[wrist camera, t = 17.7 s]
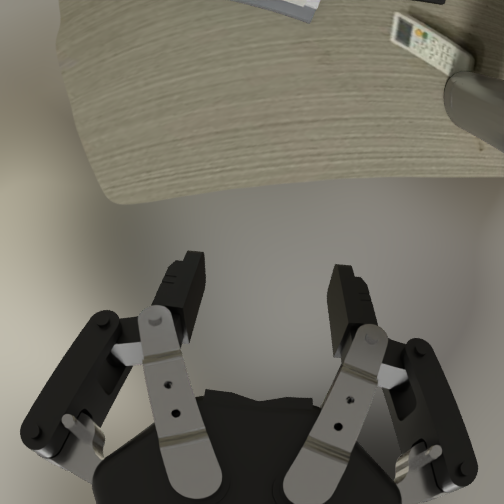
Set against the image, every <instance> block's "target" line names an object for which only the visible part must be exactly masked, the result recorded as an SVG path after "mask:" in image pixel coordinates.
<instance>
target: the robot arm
mask: <svg viewBox="0 0 504 504" xmlns="http://www.w3.org/2000/svg"><path fill="white" fill-rule="evenodd" d="M444 104H445V108H446V111H447V114H448V116H449V117H450V119H451V120H452V122H453V123H454V124H455V125H457V126H458V127H460V128H462V129H463V130H465V131H467V132H469V133H471V134H473V135H474V136H476V137H478V138H480V139H481V140H483V141H485V142H486V143H488V144H490V145H491V146H493V147H495V148H496V149H498V150H500V151H501V152H503V153H504V80H502V79H498V78H494V77H490V76H486V75H482V74H478V73H473V72H468V71H460V72H458V73H456V74H454V75H453V76H452V77H451V78H450V79H449V80H448V82H447V84H446V87H445V91H444ZM205 283H206V274H205V257H204V252H198V251H187V253H186V255H185V257H184V260H183V261H178V260H176V261H175V262H173V264H171V265H170V266H169V267H168V269H167V271H166V273H165V276H164V278H163V280H162V283H161V284H160V287H159V289H158V291H157V293H156V296H155V299H154V300H153V303H152V305H151V306H149V307H147V308H145V309H144V310H142V311H141V313H140V314H139V316H137V317H131V318H121V319H119V317H118V315H117V314H116V313H115V312H113V311H110V310H103V311H100V312H97V313H96V314H94V315H93V316H92V317H91V318H90V320H89V321H88V323H87V324H86V325H85V327H84V328H83V329H82V331H81V332H80V334H79V335H78V337H77V338H76V339H75V341H74V342H73V344H72V345H71V347H70V348H69V350H68V351H67V352H66V354H65V356H64V357H63V359H62V360H61V361H60V363H59V365H58V366H57V368H56V369H55V371H54V372H53V374H52V376H51V377H50V378H49V380H48V381H47V383H46V385H45V386H44V388H43V389H42V391H41V393H40V394H39V396H38V398H37V399H36V401H35V402H34V404H33V406H32V407H31V409H30V411H29V413H28V414H27V416H26V418H25V419H24V421H23V423H22V425H21V429H20V435H21V439H22V441H23V443H24V444H25V445H26V446H27V447H28V448H29V449H31V450H33V451H34V452H36V453H37V454H38V455H39V456H40V457H42V458H44V459H45V460H47V461H49V462H50V463H52V464H54V465H56V466H59V467H61V468H62V469H64V470H67V471H70V472H71V473H73V474H75V475H76V476H78V477H80V478H82V479H83V480H85V481H87V482H88V483H91V484H92V489H93V493H94V497H95V500H96V504H417V503H420V502H427V501H429V500H432V499H435V498H438V497H441V496H443V495H446V494H448V493H451V492H453V491H456V490H458V489H460V488H463V487H465V486H468V485H469V484H471V483H472V482H473V481H474V479H475V478H476V475H477V472H478V464H477V460H476V457H475V454H474V451H473V448H472V444H471V441H470V439H469V436H468V433H467V430H466V427H465V424H464V422H463V419H462V416H461V414H460V411H459V409H458V406H457V403H456V401H455V399H454V396H453V394H452V391H451V389H450V386H449V384H448V382H447V379H446V377H445V375H444V372H443V370H442V368H441V366H440V363H439V361H438V359H437V357H436V355H435V353H434V351H433V349H432V347H431V345H430V344H429V343H428V342H426V341H425V340H423V339H420V338H413V339H410V340H409V341H408V342H407V344H403V343H400V342H397V341H394V340H391V339H389V338H388V336H387V334H386V332H385V331H384V330H383V329H382V328H381V327H379V326H378V323H377V319H376V316H375V312H374V308H373V304H372V302H371V297H370V295H369V290H368V287H367V284H366V283H365V282H364V281H363V279H362V278H361V277H355V276H354V273H353V269H352V266H351V265H339V264H335V266H334V269H333V273H332V277H331V280H330V284H329V288H328V292H327V305H328V313H329V321H330V329H331V337H332V346H333V357H337V358H338V357H339V358H341V362H342V364H341V366H340V368H339V370H338V372H337V374H336V376H335V379H334V380H333V383H332V385H331V387H330V389H329V391H328V393H327V395H326V397H325V399H324V401H323V403H322V405H321V406H320V407H317V406H314V405H313V400H312V398H294V397H284V398H279V399H272V400H266V401H255V400H252V399H249V398H246V397H243V396H240V395H238V394H235V393H232V392H223V391H215V390H208V389H206V390H205V395H204V396H199V397H195V396H194V393H193V389H192V386H191V383H190V380H189V376H188V373H187V370H186V366H185V363H184V359H183V356H182V352H181V350H180V349H181V345H182V343H184V344H189V343H190V339H191V336H192V331H193V328H194V325H195V321H196V318H197V314H198V310H199V307H200V303H201V300H202V297H203V293H204V290H205ZM141 364H143V369H144V374H145V380H146V385H147V390H148V395H149V400H150V404H151V409H152V413H153V417H154V423H153V424H151V425H150V426H149V427H147V428H146V429H145V430H143V431H142V432H141V433H139V434H138V435H137V436H135V437H134V438H133V439H131V440H130V441H128V442H127V443H126V444H124V445H123V446H121V447H120V448H119V449H117V450H116V451H114V452H113V453H112V454H110V455H109V456H107V457H106V458H104V456H103V447H104V444H105V436H104V433H103V431H102V430H101V426H102V424H103V422H104V420H105V418H106V416H107V414H108V412H109V410H110V408H111V406H112V404H113V403H114V401H115V399H116V397H117V395H118V393H119V391H120V389H121V387H122V386H123V384H124V382H125V380H126V378H127V376H128V374H129V373H130V371H131V369H132V367H133V365H141ZM377 386H380V387H382V390H383V393H384V396H385V399H386V402H387V405H388V409H389V412H390V415H391V418H392V422H393V425H394V429H395V432H396V436H397V439H398V443H399V447H400V450H401V454H402V455H401V456H400V457H399V458H398V460H397V462H396V477H395V480H394V481H393V480H392V479H391V478H390V477H389V476H388V475H387V474H386V473H385V471H384V470H383V469H382V468H381V467H380V466H379V465H378V464H377V463H376V462H375V461H374V459H373V458H372V457H371V456H370V455H369V454H368V453H367V452H366V451H365V450H364V448H363V447H362V446H361V445H360V444H359V443H358V442H357V441H356V440H357V438H358V435H359V433H360V430H361V428H362V425H363V423H364V420H365V418H366V415H367V413H368V410H369V407H370V405H371V402H372V399H373V397H374V394H375V391H376V388H377Z"/></svg>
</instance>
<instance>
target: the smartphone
mask: <svg viewBox="0 0 504 504" xmlns="http://www.w3.org/2000/svg"><path fill="white" fill-rule="evenodd" d="M413 1H421V2H427V3H434V4H439V5H443V4H444V3H445V0H413Z"/></svg>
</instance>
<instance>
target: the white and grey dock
mask: <svg viewBox="0 0 504 504" xmlns="http://www.w3.org/2000/svg"><path fill="white" fill-rule="evenodd" d="M231 1H235V2H239V3H244V4H248V5H251V6H255V7H259V8H263V9H266V10H270V11H273V12H276V13H279V14H283V15H286V16H289V17H292V18H295V19H297V20H300V21H303V22H306V23H309V24H310V23H311V20H312V18H313V16H314V13H315V11H316V9H317V7H318V5H319V2H320V0H231Z"/></svg>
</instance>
